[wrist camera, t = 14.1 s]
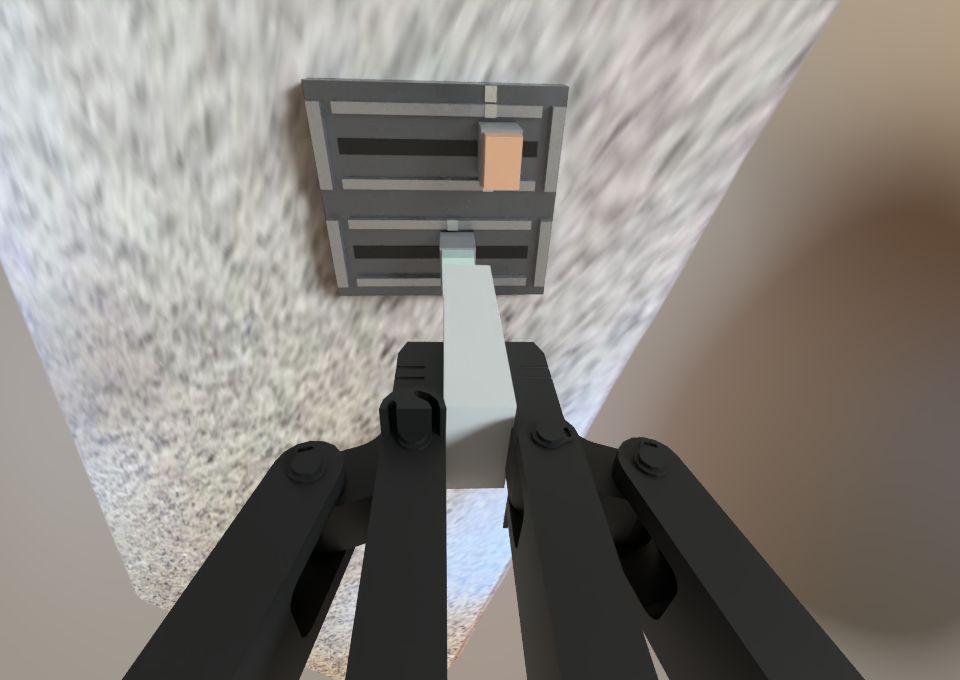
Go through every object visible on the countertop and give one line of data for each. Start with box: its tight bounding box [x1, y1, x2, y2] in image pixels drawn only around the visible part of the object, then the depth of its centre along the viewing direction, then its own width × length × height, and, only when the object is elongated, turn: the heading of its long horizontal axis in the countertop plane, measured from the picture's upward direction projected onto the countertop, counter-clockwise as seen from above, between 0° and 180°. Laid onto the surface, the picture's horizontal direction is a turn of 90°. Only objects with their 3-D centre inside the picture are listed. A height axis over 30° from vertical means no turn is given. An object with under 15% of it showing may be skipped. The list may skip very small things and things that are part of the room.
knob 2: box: [477, 122, 523, 190], centre depth 33 cm, size 4×3×5 cm
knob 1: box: [440, 232, 476, 298], centre depth 38 cm, size 4×3×5 cm
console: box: [301, 78, 569, 296], centre depth 38 cm, size 18×20×3 cm
